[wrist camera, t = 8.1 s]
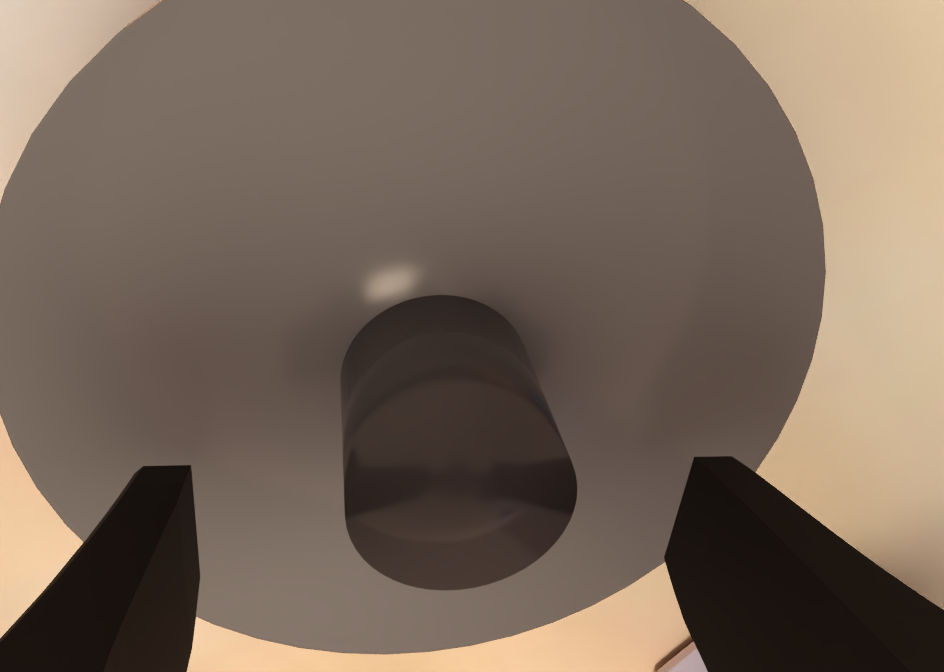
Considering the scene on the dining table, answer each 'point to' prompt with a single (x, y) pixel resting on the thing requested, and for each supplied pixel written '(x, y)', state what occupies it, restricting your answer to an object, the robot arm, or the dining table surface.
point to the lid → (408, 299)
